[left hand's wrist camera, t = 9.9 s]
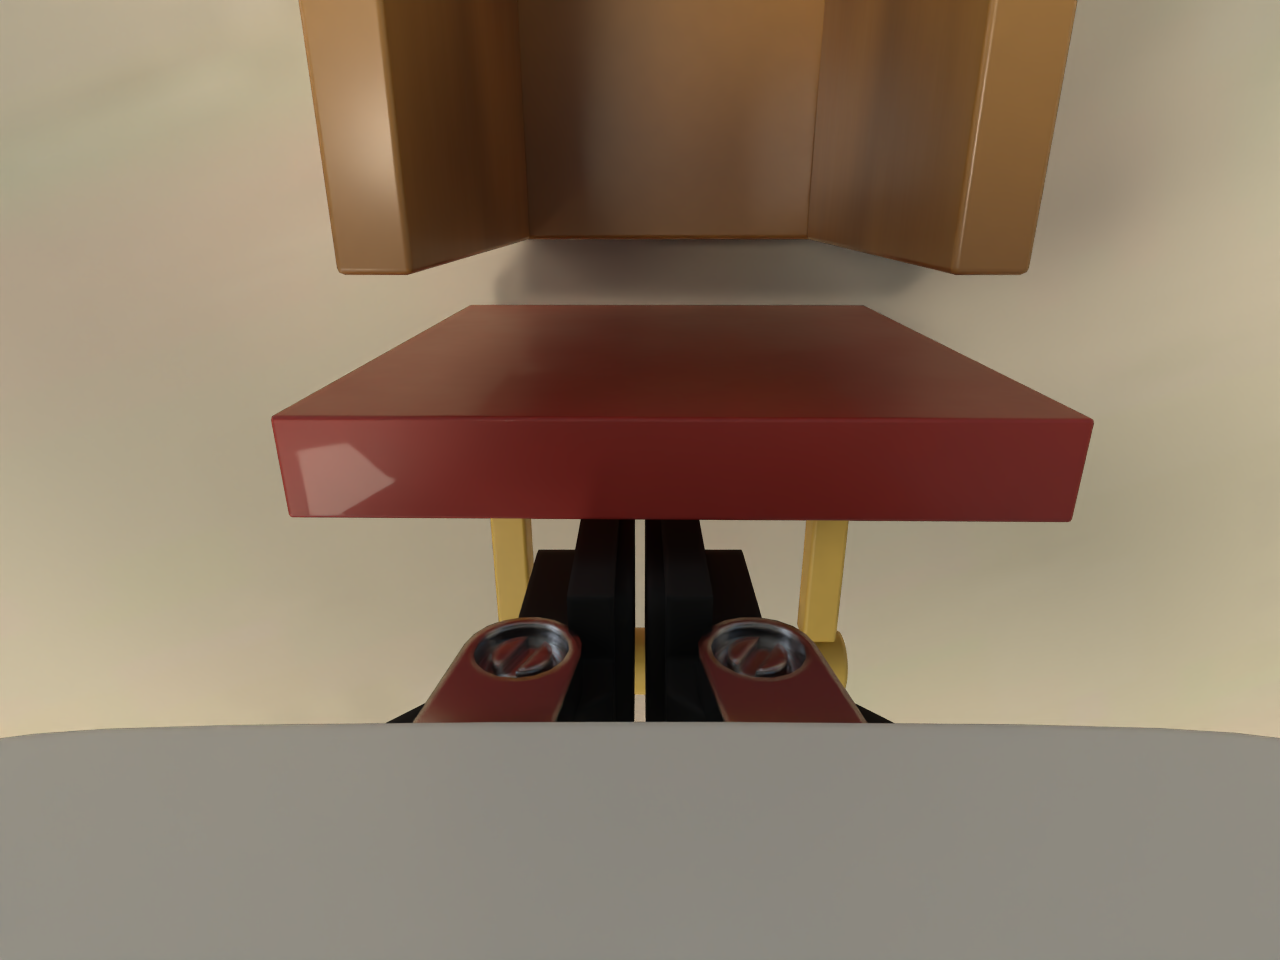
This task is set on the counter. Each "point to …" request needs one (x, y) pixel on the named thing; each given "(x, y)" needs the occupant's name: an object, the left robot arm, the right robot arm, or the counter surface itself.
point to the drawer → (683, 209)
